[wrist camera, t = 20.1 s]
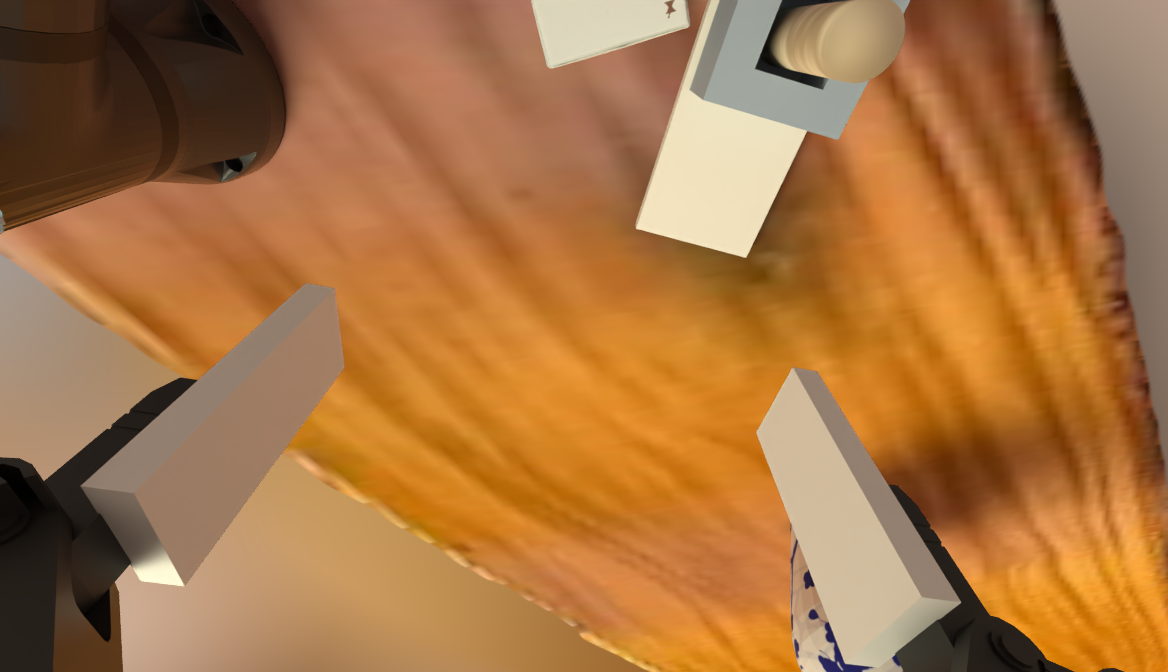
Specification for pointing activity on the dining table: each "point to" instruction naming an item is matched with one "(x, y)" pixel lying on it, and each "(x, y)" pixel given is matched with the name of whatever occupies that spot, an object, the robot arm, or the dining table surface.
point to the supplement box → (602, 25)
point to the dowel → (836, 39)
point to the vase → (817, 625)
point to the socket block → (769, 72)
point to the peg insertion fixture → (715, 168)
